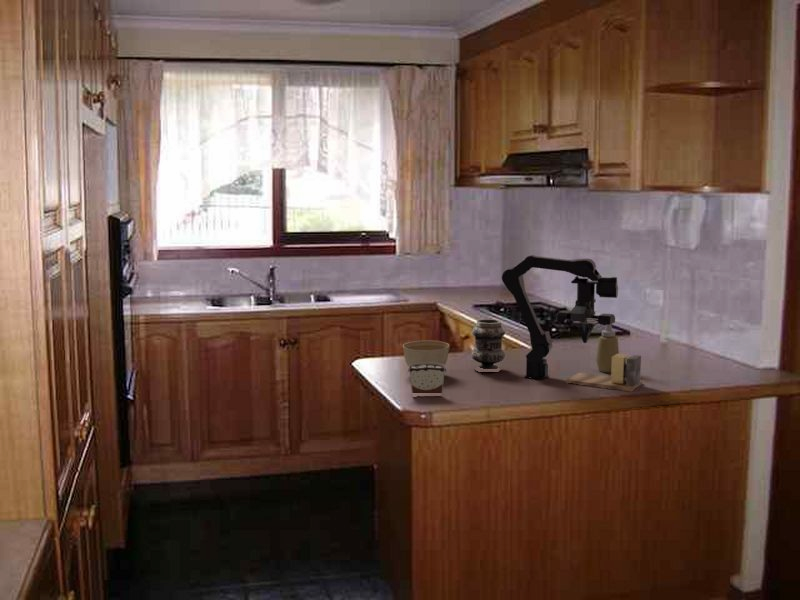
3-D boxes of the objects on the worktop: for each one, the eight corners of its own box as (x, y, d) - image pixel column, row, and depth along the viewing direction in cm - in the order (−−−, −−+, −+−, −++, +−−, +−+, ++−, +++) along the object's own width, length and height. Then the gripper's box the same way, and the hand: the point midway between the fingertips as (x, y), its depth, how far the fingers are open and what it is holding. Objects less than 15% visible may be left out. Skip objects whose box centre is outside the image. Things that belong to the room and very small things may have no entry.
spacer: (610, 382, 284) (611, 356, 282) (616, 378, 289) (617, 353, 287) (622, 384, 282) (623, 358, 280) (628, 380, 287) (629, 354, 285)
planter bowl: (397, 372, 306) (396, 342, 305) (439, 368, 311) (439, 339, 310) (411, 382, 291) (411, 351, 290) (456, 379, 296) (456, 347, 294)
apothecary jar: (503, 374, 301) (503, 324, 299) (469, 373, 304) (469, 323, 301) (506, 367, 313) (506, 318, 310) (473, 365, 316) (473, 317, 313)
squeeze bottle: (602, 374, 301) (603, 323, 298) (591, 369, 309) (592, 319, 306) (623, 372, 303) (625, 322, 300) (611, 367, 311) (613, 318, 308)
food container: (445, 391, 279) (445, 361, 278) (446, 396, 273) (446, 365, 272) (406, 392, 279) (406, 362, 277) (407, 397, 273) (407, 366, 271)
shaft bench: (566, 383, 289) (566, 353, 287) (578, 375, 299) (579, 347, 297) (631, 391, 277) (632, 361, 276) (642, 383, 287) (643, 354, 286)
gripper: (550, 298, 286) (549, 344, 288) (605, 301, 276) (604, 349, 279) (562, 293, 295) (562, 338, 298) (616, 297, 286) (615, 343, 288)
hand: (585, 342), depth 290 cm, fingers closed
